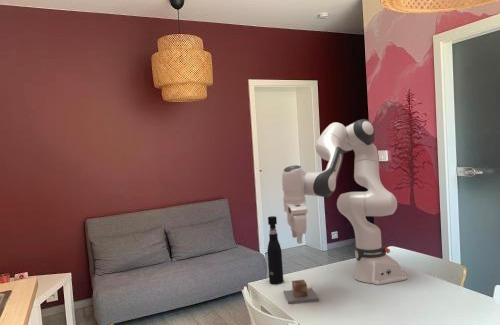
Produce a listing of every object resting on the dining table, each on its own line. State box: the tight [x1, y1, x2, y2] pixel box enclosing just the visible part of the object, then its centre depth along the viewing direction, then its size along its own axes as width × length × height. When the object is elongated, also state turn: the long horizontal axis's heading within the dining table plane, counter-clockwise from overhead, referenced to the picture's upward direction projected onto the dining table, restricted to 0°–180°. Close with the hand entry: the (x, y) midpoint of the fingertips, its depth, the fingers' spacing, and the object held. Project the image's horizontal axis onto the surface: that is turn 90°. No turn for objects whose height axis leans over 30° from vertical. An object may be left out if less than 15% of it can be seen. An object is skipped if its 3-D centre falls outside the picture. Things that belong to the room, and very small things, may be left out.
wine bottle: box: [267, 215, 284, 285], centre depth 173 cm, size 6×6×30 cm
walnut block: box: [291, 279, 308, 297], centre depth 154 cm, size 5×5×5 cm
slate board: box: [283, 287, 320, 305], centre depth 154 cm, size 12×11×1 cm
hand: (297, 240), depth 153 cm, fingers open, 8 cm apart
